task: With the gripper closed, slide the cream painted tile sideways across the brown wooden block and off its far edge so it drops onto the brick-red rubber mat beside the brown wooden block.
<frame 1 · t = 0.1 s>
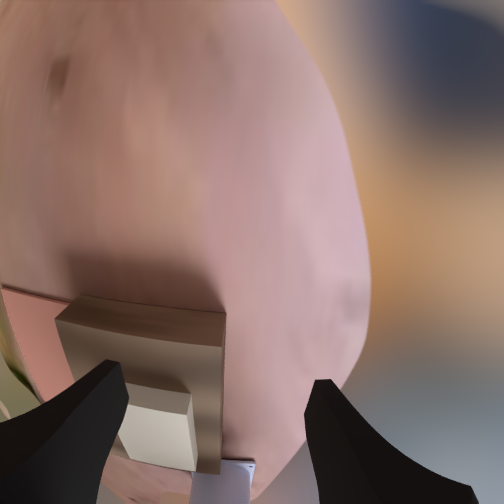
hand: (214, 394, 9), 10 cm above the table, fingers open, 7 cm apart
brown wooden block: (157, 389, 22), on the table
tile: (158, 423, 18), point 4 cm above the table, touching brown wooden block
mat: (56, 363, 21), on the table
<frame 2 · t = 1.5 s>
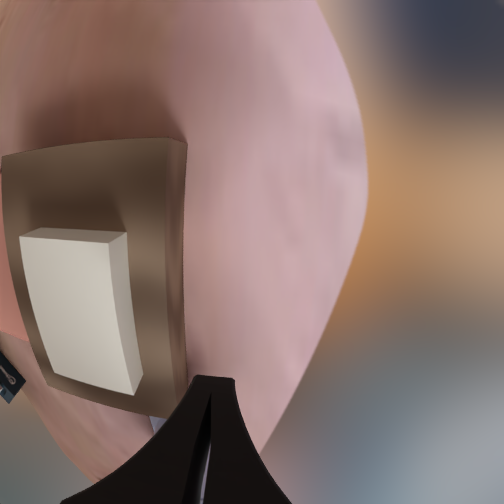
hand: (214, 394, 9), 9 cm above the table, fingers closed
brown wooden block: (103, 278, 17), on the table
watch: (8, 368, 21), on the table
tile: (88, 306, 14), point 4 cm above the table, touching brown wooden block
mat: (5, 262, 17), on the table
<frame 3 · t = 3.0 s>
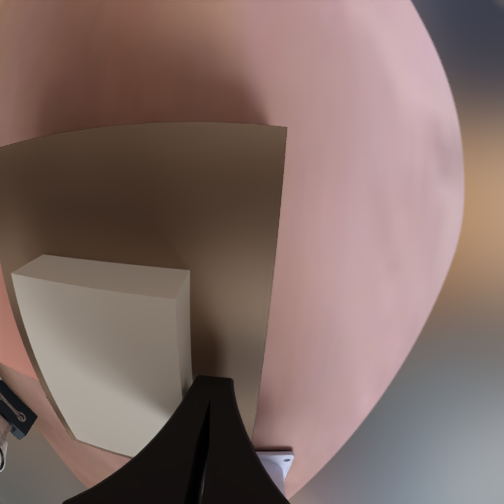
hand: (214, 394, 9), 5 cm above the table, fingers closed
brown wooden block: (143, 316, 14), on the table
watch: (16, 401, 18), on the table
tile: (121, 364, 10), point 4 cm above the table, touching gripper
mat: (4, 289, 13), on the table
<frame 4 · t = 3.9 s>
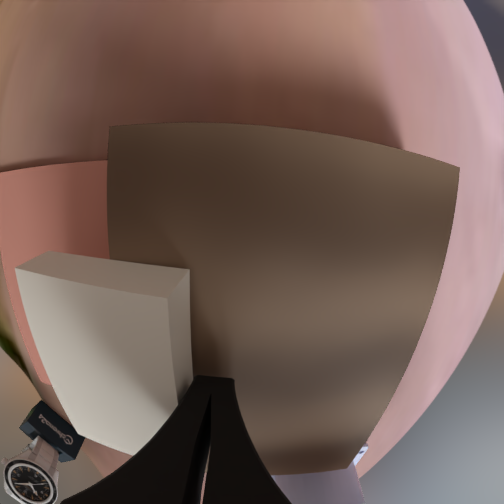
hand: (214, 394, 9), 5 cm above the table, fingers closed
brown wooden block: (268, 328, 14), on the table
watch: (57, 421, 18), on the table
tile: (123, 362, 10), point 4 cm above the table, touching brown wooden block, gripper
mat: (66, 304, 13), on the table
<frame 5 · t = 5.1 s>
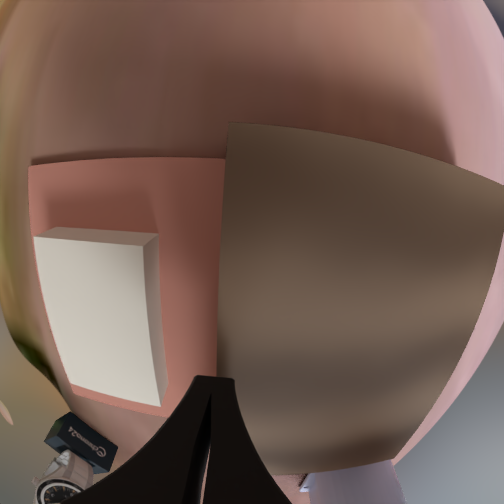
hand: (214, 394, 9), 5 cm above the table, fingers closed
brown wooden block: (337, 329, 14), on the table
watch: (86, 432, 18), on the table
tile: (93, 332, 11), point 2 cm above the table, tilted 180°, touching mat
mat: (118, 312, 13), on the table
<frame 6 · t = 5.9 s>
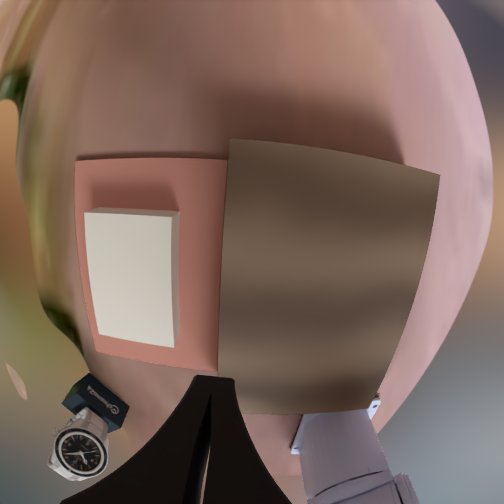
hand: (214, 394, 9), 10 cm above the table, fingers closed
brown wooden block: (311, 286, 19), on the table
watch: (100, 394, 23), on the table
tile: (127, 284, 16), point 2 cm above the table, tilted 180°, touching mat
mat: (144, 273, 19), on the table
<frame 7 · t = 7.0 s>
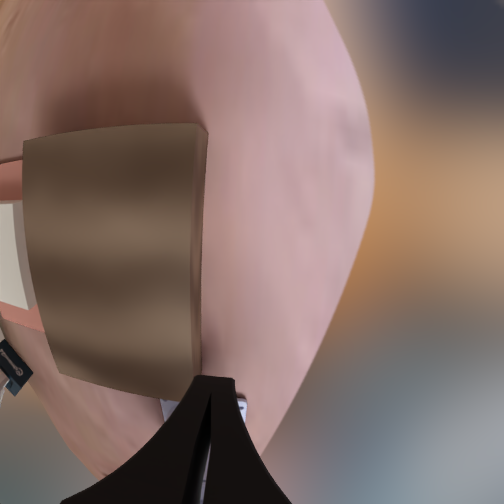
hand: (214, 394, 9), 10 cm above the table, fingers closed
brown wooden block: (121, 262, 18), on the table
watch: (15, 360, 22), on the table
mat: (17, 250, 18), on the table
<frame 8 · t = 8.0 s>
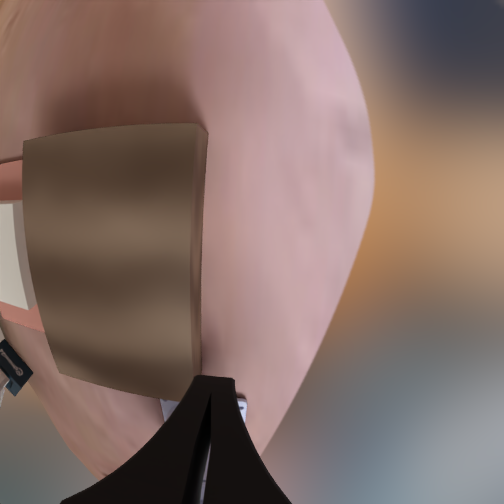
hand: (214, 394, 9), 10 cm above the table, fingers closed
brown wooden block: (121, 262, 18), on the table
watch: (15, 360, 22), on the table
mat: (17, 250, 18), on the table
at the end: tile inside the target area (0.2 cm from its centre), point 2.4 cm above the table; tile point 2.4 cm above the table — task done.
